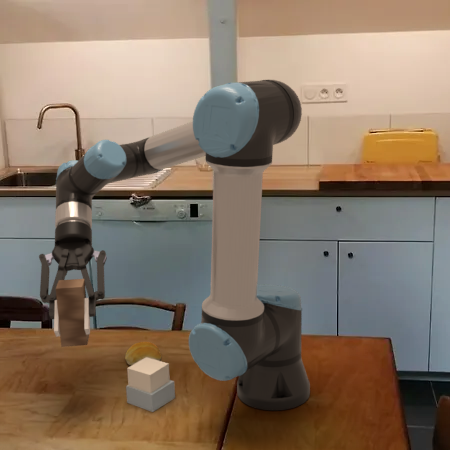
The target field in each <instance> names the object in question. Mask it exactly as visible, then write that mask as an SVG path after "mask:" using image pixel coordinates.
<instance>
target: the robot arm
mask: <svg viewBox="0 0 450 450" xmlns="http://www.w3.org/2000/svg"><path fill="white" fill-rule="evenodd" d="M302 111H303V109H302V104H301V100H300V98H299V96H298V94H297V93H296V91H295V90H294V89H292V87H290V86H289V85H288V84H286V83H285V82H282V81H281V80H276V79H263V80H262V79H261V80H253V81H239V82H228V83H225V84H221V85H218V86H214V87H212V88H210V89H209V90H208V91H205V93H204V94H203V96H201V98H200V99H199V100H198V102H197V104H196V106H195V109H194V112H193V115H192V116H193V117H192V120H191V121H190V122H187V123H184V124H182V125H179V126H175V127H173V128H171V129H167V130H165V131H163V132H160V133H157V134H154V135H152V136H149V137H146V138H143V139H140V140H137V141H134V142H129V143H122V144H119V143H117V142H115V141H112V140H110V139H102V140H99V141H97V143H95V144H94V145H93V146H91V147H90V148H88V150H87V151H86V152H85V153H84V154H83V155H82V156H81V158H80V159H79V160H76V159H75V160H74V159H73V160H69V161H67V162H63V163H61V165H59V167H58V168H57V173H56V178H55V180H56V181H55V221H54V228H55V230H54V247H53V249H52V251H51V253H47V254H44V253H40V254H39V255H38V258H39V262H40V264H41V266H40V267H41V271H40V284H39V285H40V287H39V296H40V299H41V301H42V303H44V304H48V305H49V306H48V316H49V318H50V320H53V322H54V324H53V332H54V335H55V337H56V338H57V337H60V327H59V317H58V308H57V297H56V287H57V284H58V281H59V280H66V276H67V274H68V272H70V271H73V270H74V271H80V272H81V276H82V279H85V290H86V294H87V296H88V297H86V298H85V314H84V329H85V333H86V334H89V335H91V318H93V317H94V318H95V316H96V310H97V309H96V302H97V301H98V300H104V299H105V298H106V294H105V293H106V291H105V265H106V261H107V252H106V250H104V249H103V250H100V251H98V250H95V249H94V248H93V229H92V226H93V222H92V221H93V218H92V217H93V215H92V214H93V212H92V211H93V207H92V206H93V198H94V196H95V195H97V194H99V192H101V190H102V189H103V188H104V187H106V186H107V185H108V184H112V183H116V182H120V181H124V180H129V179H133V178H139V177H142V176H147V175H153V174H157V173H159V172H161V171H163V170H164V169H167V168H168V169H169V168H171V167H175V166H177V165H180V164H181V165H182V164H184V163H188V162H190V161H193V160H196V159H199V158H204V157H205V159H204V160H205V163H206V164H207V165H208V166H209V167H210V168H211V169H212V171H213V185H212V186H213V188H212V220H211V221H212V223H211V224H212V225H211V228H212V229H211V256H210V257H211V258H210V259H211V261H210V263H211V265H210V291H209V293H210V294H209V296H207V297H206V298H205V299H204V300H203V301H202V303H201V319H200V320H201V322H200V323H197V324H196V325H195V326H193V329H191V331H190V332H189V336H188V349H189V352H190V354H191V357H192V359H193V361H194V362H195V364H196V365H197V366H198V368H199V369H200V370H201V371H202V372H203V374H205V375H207V376H209V377H210V378H212V379H214V380H216V381H221V382H222V381H225V382H226V381H230V380H233V379H235V378H237V377H238V379H237V384H236V386H237V387H236V392H237V393H236V394H237V397H238V398H239V400H240V401H241V402H242V403H243V404H245V405H247V406H249V407H252V408H254V409H257V410H263V411H284V410H290V409H294V408H297V407H299V406H301V405H303V404H304V403H306V402H307V401H308V399H309V398H310V395H311V394H310V393H311V389H310V388H311V384H310V380H309V378H308V375H307V372H306V367H305V365H304V362H303V359H302V321H303V320H302V317H303V315H302V314H303V313H302V311H303V307H302V297H301V295H300V293H299V292H298V291H297V290H295V289H294V288H291V287H290V286H289V287H288V286H284V285H280V284H267V283H266V284H258V279H259V278H258V277H259V261H260V260H259V258H260V257H259V256H260V237H261V234H260V233H261V217H262V216H261V215H262V198H263V197H262V195H263V177H264V176H263V175H264V172H265V171H266V170H267V169H268V168H269V167H271V165H272V164H273V153H274V152H273V150H274V148H273V147H274V145H277V144H280V143H283V142H285V141H287V140H288V139H289V138H291V137H292V136H293V135H294V134H295V132H296V131H297V129H298V128H299V126H300V123H301V121H302V115H303V113H302ZM93 258H94V262H96V280H97V281H96V283H97V284H96V285H97V286H96V287H97V290H95V291H94V287H93V285H92V281H91V278H90V275H89V272H88V268H87V265H88V264H89V262H90V261H91V260H92V259H93ZM53 260H55V262H56V263H57V265H58V267H57V272H56V274H55V278H54V280H53V283H52V287H51V290H49V289H50V287H49V286H50V266H51V265H52V264H53V263H52V261H53ZM49 291H50V293H49Z"/></svg>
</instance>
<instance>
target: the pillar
mask: <svg viewBox="0 0 450 450" xmlns="http://www.w3.org/2000/svg"><path fill="white" fill-rule="evenodd" d="M56 297H57V308H58V317H59V327H60V336H59V337H60V347H61V348H66V347H78V346H88V343H89V340H90V339H89V338H90V334H86V333H85V329H84V314H85V298H87V290H86V286H85V279H83V278H74V279H64V280H59V281H58V284H57V287H56Z"/></svg>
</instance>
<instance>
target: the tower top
mask: <svg viewBox="0 0 450 450" xmlns="http://www.w3.org/2000/svg"><path fill="white" fill-rule="evenodd" d="M126 370H127V382H128V384H127V385H128V386H130V387H133V388H136V389H139V390H142V391H145V392H148V393H152V392H154V391H155V390H157V389H159V388H160V387H162V386H163V385H165V384H166V383H168V382H170V380H171V378H170V363H168V362H164V361H162V360H160V361H158V360H155V359H151V358H148V357H146V358H144V359H142V360H141V361H139V362H137V363H135V364H134V365H132V366H130V365H129V367H127V368H126Z"/></svg>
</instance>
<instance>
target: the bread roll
mask: <svg viewBox="0 0 450 450" xmlns="http://www.w3.org/2000/svg"><path fill="white" fill-rule="evenodd" d="M124 357H125V361H126V364H128V365H129V367H130V366H132V365H134V364H135V363H137V362H139V361H141V360H142V359H144V358H146V357H148V358H151V359H155V360H158V361H162V354H161V351H160V348H159V347H158V346H157V345H156V344H154V343H153V342H150V341H140V342H136V343H134V344H132V345H131V346H130V347H129V348H128V349H127V351H126V353H125V356H124Z"/></svg>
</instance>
